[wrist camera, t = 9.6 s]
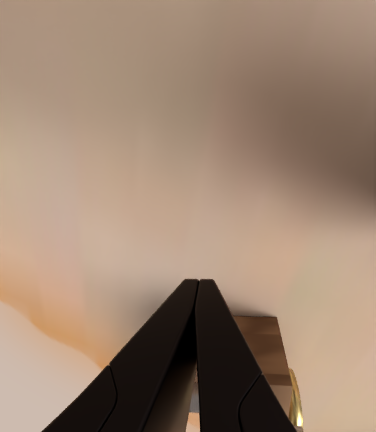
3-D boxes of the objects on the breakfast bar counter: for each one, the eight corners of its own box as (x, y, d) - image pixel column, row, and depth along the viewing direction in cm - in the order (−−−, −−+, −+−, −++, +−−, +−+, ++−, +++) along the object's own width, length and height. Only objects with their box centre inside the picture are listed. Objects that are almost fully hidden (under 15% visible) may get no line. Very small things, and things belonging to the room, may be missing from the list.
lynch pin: (290, 354, 24) (308, 427, 19) (285, 392, 26) (300, 467, 21) (174, 349, 26) (162, 416, 20) (179, 385, 28) (169, 453, 23)
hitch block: (276, 317, 24) (292, 386, 18) (269, 404, 29) (280, 477, 23) (206, 315, 24) (202, 380, 19) (211, 399, 30) (209, 470, 24)
